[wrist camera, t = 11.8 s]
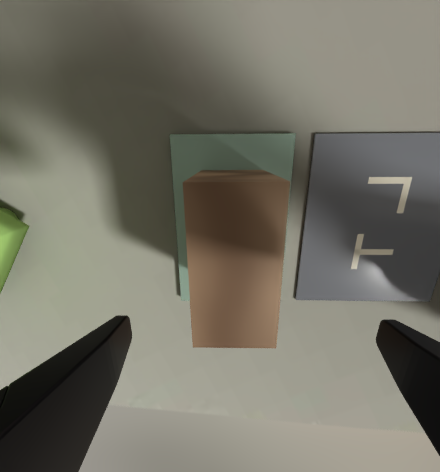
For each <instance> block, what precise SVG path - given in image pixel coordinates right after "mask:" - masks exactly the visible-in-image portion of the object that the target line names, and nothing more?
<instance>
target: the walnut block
mask: <svg viewBox="0 0 440 472" xmlns="http://www.w3.org/2000/svg"><path fill="white" fill-rule="evenodd" d="M289 191H290V181H288V180H286V179H283V178H281V177H279V176H276V175H274V174H272V173H269V172H267V171H265V170H201V171H200V172H198V173H196V174H195V175H193V176H192V177H190V178H189V179H187V180H186V181H184V182H183V198H184V213H185V229H186V245H187V261H188V277H189V293H190V309H191V325H192V341H193V347H213V348H276V344H277V332H278V320H279V308H280V296H281V285H282V273H283V261H284V249H285V238H286V226H287V214H288V202H289Z"/></svg>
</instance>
